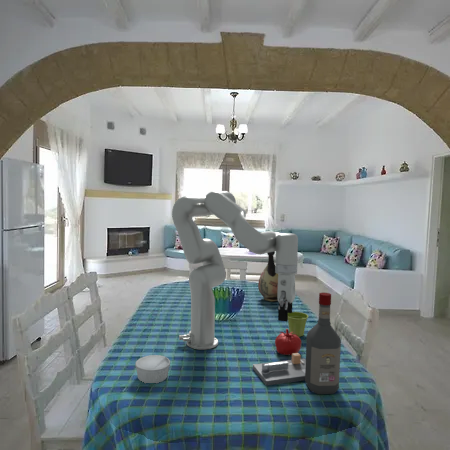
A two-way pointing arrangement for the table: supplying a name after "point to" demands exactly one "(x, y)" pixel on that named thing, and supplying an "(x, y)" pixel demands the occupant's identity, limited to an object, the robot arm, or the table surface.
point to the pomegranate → (287, 343)
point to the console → (282, 373)
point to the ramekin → (152, 368)
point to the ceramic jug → (269, 280)
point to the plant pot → (297, 323)
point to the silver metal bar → (274, 366)
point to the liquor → (323, 352)
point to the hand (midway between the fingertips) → (285, 316)
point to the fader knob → (296, 358)
